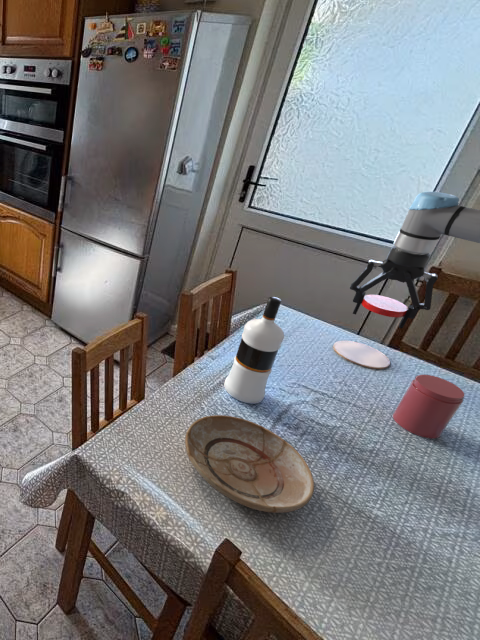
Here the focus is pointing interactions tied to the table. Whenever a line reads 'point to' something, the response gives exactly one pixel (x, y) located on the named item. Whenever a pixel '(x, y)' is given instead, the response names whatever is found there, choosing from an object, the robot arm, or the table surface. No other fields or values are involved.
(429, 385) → the jam jar
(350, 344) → the coaster
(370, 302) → the lid
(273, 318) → the vodka
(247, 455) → the ceramic bowl
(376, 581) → the table surface
